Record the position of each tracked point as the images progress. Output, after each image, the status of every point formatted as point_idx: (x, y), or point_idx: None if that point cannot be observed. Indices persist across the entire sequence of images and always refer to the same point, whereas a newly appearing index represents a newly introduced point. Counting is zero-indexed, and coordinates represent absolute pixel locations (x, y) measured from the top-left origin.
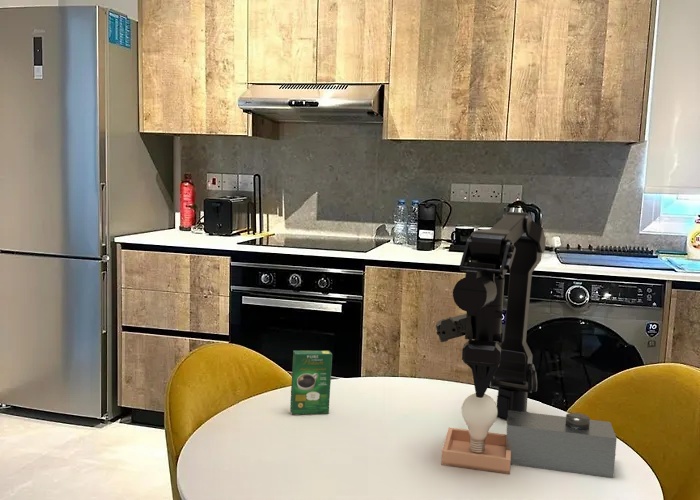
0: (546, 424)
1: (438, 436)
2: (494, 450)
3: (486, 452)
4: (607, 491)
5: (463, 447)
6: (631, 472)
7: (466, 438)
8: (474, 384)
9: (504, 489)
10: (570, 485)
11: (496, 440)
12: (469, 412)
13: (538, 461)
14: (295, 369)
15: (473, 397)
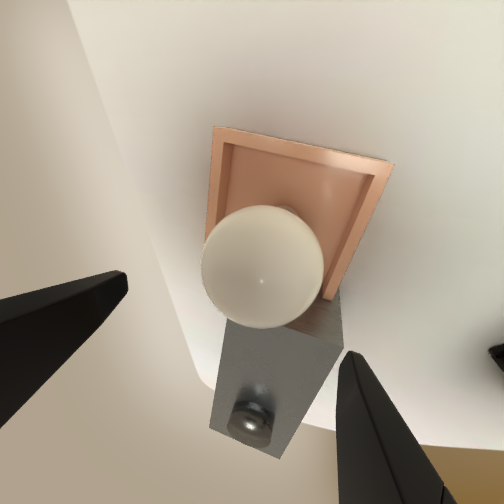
0: (249, 377)
1: (420, 132)
2: None
3: None
4: (195, 348)
5: (314, 194)
6: None
7: (354, 210)
8: (38, 290)
9: (161, 233)
10: (199, 319)
11: (329, 274)
12: (214, 227)
13: None
14: None
15: (223, 267)
